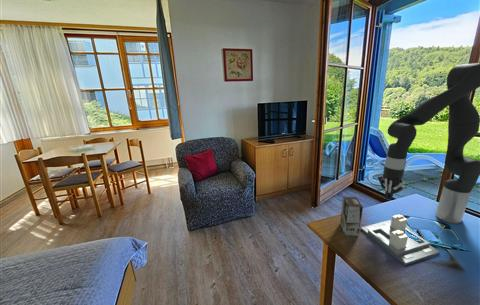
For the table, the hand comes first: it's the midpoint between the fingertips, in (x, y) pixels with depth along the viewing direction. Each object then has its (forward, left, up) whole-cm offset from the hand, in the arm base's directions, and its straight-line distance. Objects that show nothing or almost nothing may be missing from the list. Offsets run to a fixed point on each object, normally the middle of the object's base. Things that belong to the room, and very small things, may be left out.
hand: (388, 198), depth 98 cm
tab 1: (0, +7, -13) cm, 15 cm away
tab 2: (+10, +15, -13) cm, 22 cm away
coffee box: (+19, -2, -15) cm, 24 cm away
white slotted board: (+5, +11, -15) cm, 19 cm away
